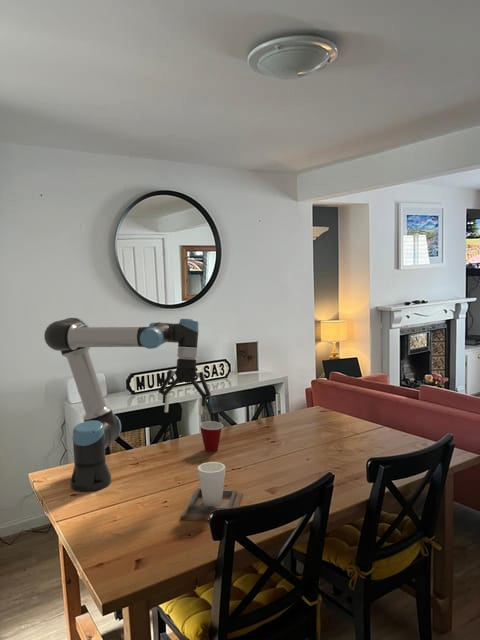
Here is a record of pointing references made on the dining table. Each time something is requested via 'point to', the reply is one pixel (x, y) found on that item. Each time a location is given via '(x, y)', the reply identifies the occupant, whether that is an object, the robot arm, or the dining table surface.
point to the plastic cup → (211, 435)
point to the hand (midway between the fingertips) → (183, 413)
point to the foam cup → (212, 482)
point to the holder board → (201, 512)
